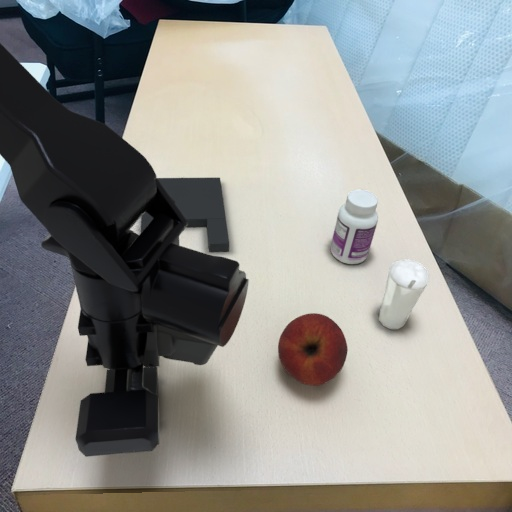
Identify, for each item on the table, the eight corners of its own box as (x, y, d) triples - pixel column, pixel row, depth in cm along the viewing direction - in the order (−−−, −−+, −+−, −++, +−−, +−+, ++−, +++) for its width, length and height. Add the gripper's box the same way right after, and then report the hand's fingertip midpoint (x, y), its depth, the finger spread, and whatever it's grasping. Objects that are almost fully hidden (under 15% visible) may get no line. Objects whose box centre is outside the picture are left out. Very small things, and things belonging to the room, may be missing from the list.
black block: (106, 429, 50) (102, 413, 48) (110, 386, 54) (106, 369, 52) (157, 425, 51) (156, 409, 49) (158, 382, 54) (156, 366, 52)
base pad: (140, 254, 69) (139, 245, 68) (144, 185, 80) (143, 177, 79) (228, 251, 71) (229, 243, 70) (219, 185, 82) (220, 177, 81)
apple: (260, 375, 56) (267, 328, 51) (296, 331, 61) (306, 285, 56) (319, 411, 53) (332, 367, 48) (351, 362, 58) (367, 317, 53)
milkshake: (371, 334, 62) (392, 275, 55) (374, 302, 66) (394, 244, 59) (409, 343, 61) (435, 285, 54) (409, 310, 65) (434, 253, 58)
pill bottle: (369, 245, 74) (386, 191, 68) (364, 269, 70) (381, 214, 64) (333, 236, 75) (346, 182, 68) (326, 259, 71) (339, 204, 65)
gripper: (225, 387, 36) (219, 484, 46) (208, 220, 49) (206, 324, 60) (58, 399, 34) (91, 496, 44) (88, 222, 47) (108, 329, 58)
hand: (132, 399), depth 52 cm, fingers open, 7 cm apart
